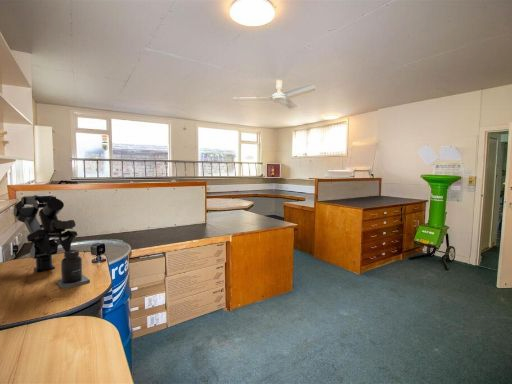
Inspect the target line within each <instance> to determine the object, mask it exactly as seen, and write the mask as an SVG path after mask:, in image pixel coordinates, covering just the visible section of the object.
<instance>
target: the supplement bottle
mask: <svg viewBox="0 0 512 384" xmlns="http://www.w3.org/2000/svg"><path fill="white" fill-rule="evenodd" d="M79 251H80V250H79V249H70V250H68V251H65V250H64V252H63V254H64V255H63V257H64V258H63V259H61V260H60V261H61V264H60V268H61V269H60V270H61V279H62V282H63V283H73V282H77V281H79V280H81V278H82V274H83V259H82V257H81V256H80V252H79Z"/></svg>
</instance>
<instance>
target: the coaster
mask: <svg viewBox="0 0 512 384" xmlns="http://www.w3.org/2000/svg"><path fill="white" fill-rule="evenodd" d="M55 282H56V284H57V285H58V286H59V287H60V288H61V289H62V290H68V289H71V288H74V287H77V286H81V285H84V284H88V283H90V282H91V280H90V278H88V277H87V276H86V275H85V274H83V273H82V278H81V280H79V281H77V282H73V283H63V282H62V278H61V279H56V281H55Z"/></svg>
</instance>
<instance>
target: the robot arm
mask: <svg viewBox="0 0 512 384" xmlns="http://www.w3.org/2000/svg"><path fill="white" fill-rule="evenodd" d="M26 205H27V206H26ZM64 206H65V205H64V202H63V201H62V199H59V198H57V196H56V195H55V196H54V195H53V194H51V193H50V194H34V195H25V196H22V197H21V198H20V201H18V202H17V203H16V204H15V205H14V207H13V213H12V214H13V216H14V217H15V218H16V220H17V221H18V222H21V223H24V225H25V227H26V228H27V230H28V232H29V234H28V235H27V236H26V239H27V242H31V244H32V246H31V248H30V250H29V256H30V258H32V259H33V260H35V267H33V270H34V271H35V272H37V273H41V272H44V271H48V270H53V269H55V268H56V266H54V264H53V256H54V255H57V254H58V249H59V248H58V246H59V244H60V246H61V247H62V248H63V250H64V252H65V251H68V250H71V246H72V242H73V240H74V239H76V238H77V236H78V231H76V230H73V228H75V227H76V222H75V220H74V219H70V220H61V219H59V218H58V215H59V213H60V212H61V211H62V210H63V208H64ZM37 216H39V219H40V222H41V224H40V222H39V221H38V219H37ZM66 230H67V231H66ZM57 238H58V240H59V244H58V242H57V240H55V239H57Z"/></svg>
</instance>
